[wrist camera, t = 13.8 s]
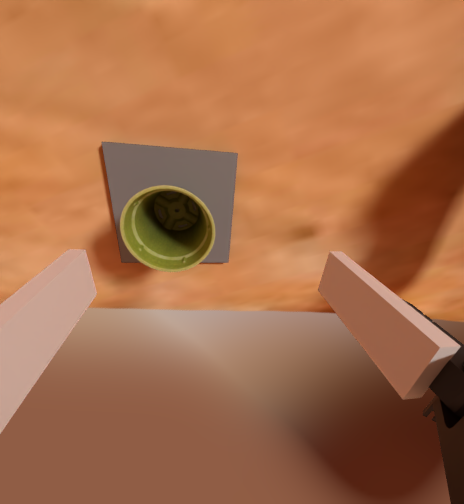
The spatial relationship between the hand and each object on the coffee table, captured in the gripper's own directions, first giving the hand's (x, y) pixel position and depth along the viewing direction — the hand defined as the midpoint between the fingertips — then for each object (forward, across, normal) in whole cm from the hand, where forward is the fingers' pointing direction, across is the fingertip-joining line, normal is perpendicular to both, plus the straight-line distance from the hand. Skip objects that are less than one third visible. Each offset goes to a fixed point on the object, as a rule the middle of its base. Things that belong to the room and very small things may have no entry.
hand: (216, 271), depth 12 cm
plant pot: (+20, +4, +2) cm, 20 cm away
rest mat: (+20, +4, +2) cm, 21 cm away
